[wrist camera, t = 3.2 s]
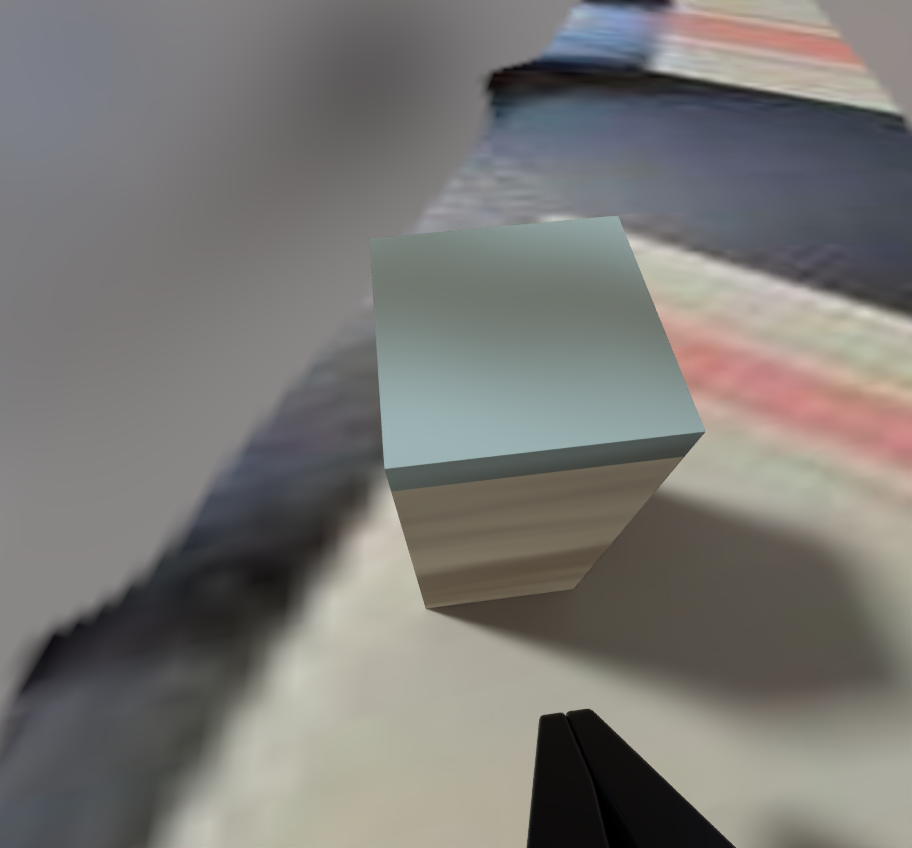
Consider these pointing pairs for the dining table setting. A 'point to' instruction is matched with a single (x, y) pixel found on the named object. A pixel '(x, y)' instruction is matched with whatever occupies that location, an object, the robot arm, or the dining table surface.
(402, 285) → the beech block
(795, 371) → the dining table surface
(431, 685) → the dining table surface
